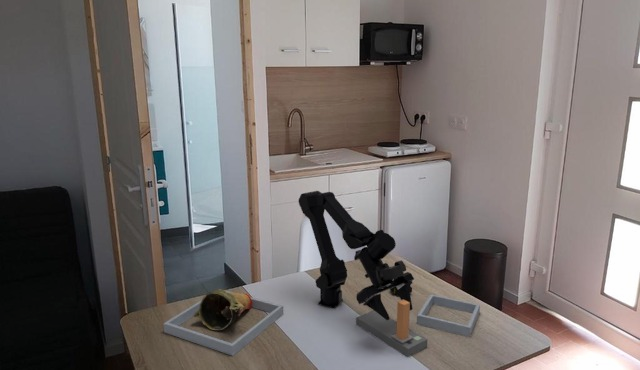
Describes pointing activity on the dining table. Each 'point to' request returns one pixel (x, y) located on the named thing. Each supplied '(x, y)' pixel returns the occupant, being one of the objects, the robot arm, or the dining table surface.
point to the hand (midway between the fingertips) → (400, 314)
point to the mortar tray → (217, 344)
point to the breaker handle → (403, 322)
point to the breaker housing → (390, 333)
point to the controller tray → (448, 325)
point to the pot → (221, 308)
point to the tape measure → (397, 289)
